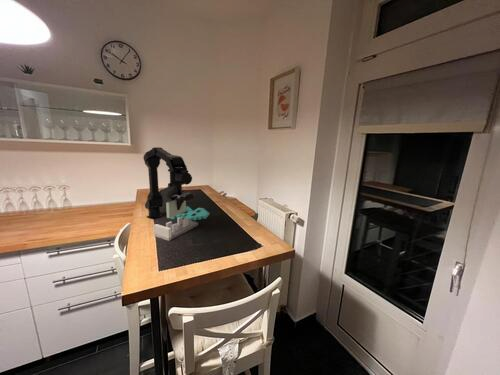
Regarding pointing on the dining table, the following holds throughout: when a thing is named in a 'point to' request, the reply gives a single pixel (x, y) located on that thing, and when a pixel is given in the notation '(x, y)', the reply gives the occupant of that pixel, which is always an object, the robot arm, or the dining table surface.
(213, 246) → the dining table surface
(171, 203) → the cabinet door
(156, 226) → the hinge base
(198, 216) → the alien figure
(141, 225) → the dining table surface
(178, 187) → the robot arm
